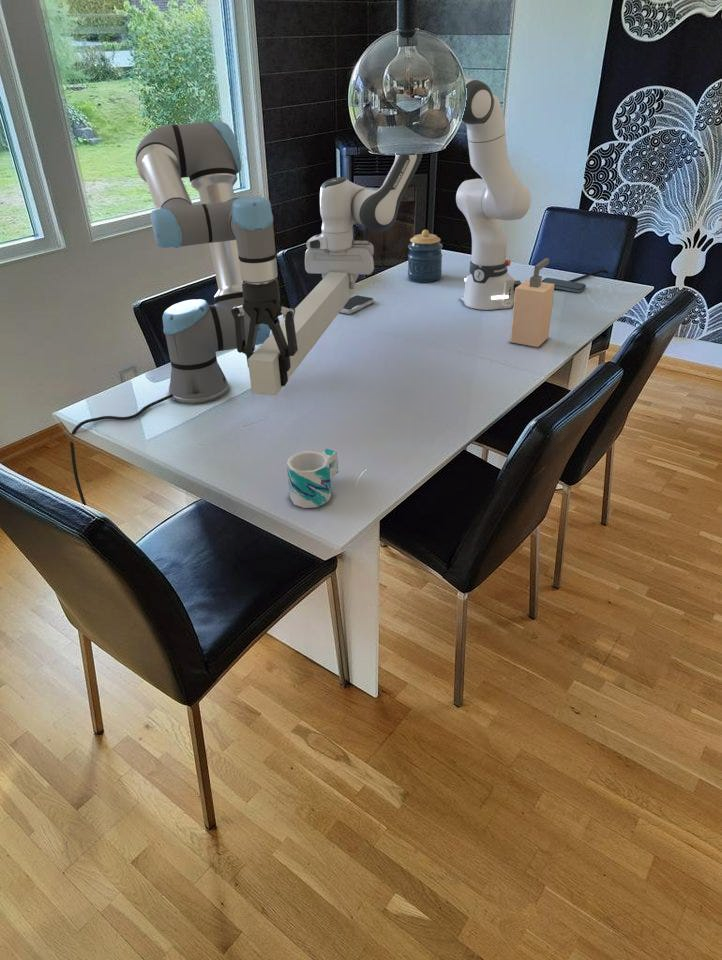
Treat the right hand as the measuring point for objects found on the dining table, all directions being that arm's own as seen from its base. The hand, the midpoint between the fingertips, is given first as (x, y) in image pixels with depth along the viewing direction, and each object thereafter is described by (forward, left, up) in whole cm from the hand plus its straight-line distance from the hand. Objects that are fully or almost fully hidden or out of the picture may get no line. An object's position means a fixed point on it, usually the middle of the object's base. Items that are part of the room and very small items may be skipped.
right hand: (340, 288), depth 199 cm
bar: (+28, +12, -3) cm, 31 cm away
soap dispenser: (-30, +49, -15) cm, 59 cm away
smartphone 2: (-81, +37, -15) cm, 90 cm away
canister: (-66, -12, -15) cm, 69 cm away
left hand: (+56, +25, -2) cm, 62 cm away
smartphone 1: (-25, -15, -15) cm, 33 cm away
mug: (+70, +49, -15) cm, 87 cm away
